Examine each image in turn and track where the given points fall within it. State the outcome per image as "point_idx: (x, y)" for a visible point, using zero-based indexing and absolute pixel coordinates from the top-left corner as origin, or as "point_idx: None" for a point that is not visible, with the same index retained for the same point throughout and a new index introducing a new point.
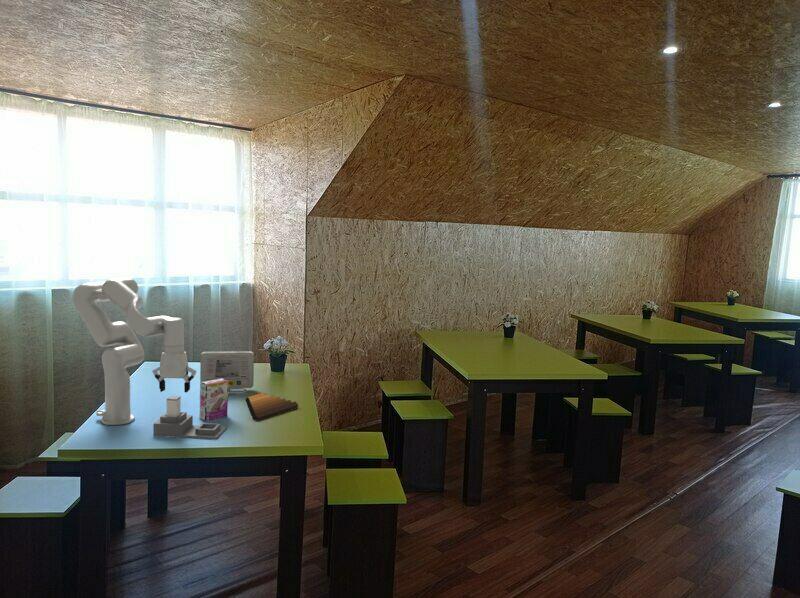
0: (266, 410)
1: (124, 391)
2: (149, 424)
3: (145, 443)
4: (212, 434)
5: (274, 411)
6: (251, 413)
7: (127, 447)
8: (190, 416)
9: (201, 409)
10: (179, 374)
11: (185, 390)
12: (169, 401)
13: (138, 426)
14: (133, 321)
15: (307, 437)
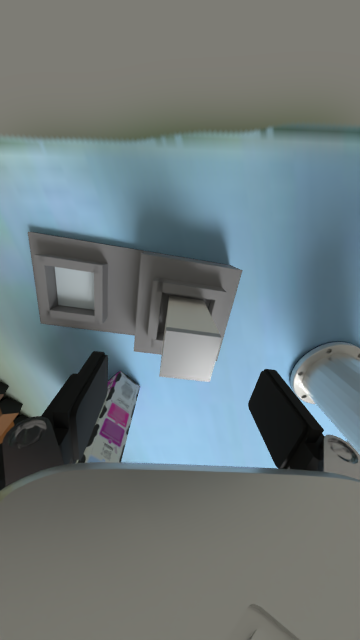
0: None
1: None
2: (251, 350)
3: (243, 193)
4: (50, 254)
5: None
6: (17, 410)
7: (295, 150)
8: (137, 341)
9: (127, 401)
10: (51, 568)
11: (93, 358)
12: (203, 328)
13: (276, 337)
14: None
15: None
